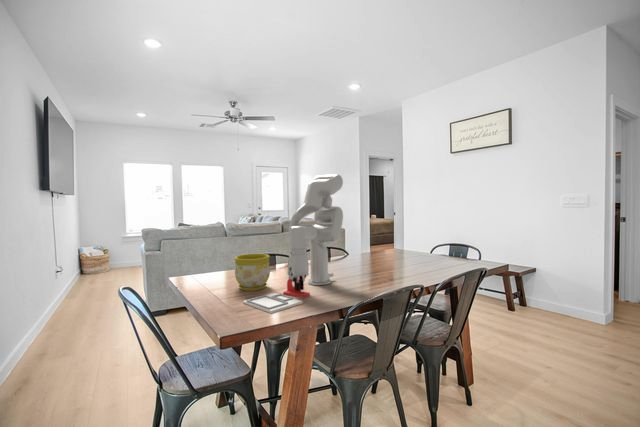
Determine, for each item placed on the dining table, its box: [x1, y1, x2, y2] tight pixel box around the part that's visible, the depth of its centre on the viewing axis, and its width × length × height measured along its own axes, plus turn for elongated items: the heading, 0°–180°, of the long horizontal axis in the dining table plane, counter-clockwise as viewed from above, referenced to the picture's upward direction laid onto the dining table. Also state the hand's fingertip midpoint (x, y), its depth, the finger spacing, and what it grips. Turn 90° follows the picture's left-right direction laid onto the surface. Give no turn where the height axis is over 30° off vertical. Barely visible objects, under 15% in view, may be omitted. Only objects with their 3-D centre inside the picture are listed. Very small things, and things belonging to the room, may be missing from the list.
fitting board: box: [242, 292, 303, 314], centre depth 146 cm, size 17×20×2 cm
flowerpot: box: [233, 253, 271, 292], centre depth 173 cm, size 18×18×16 cm
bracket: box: [282, 278, 311, 298], centre depth 159 cm, size 12×4×8 cm, turn 62°
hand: (299, 289), depth 160 cm, fingers closed on bracket
